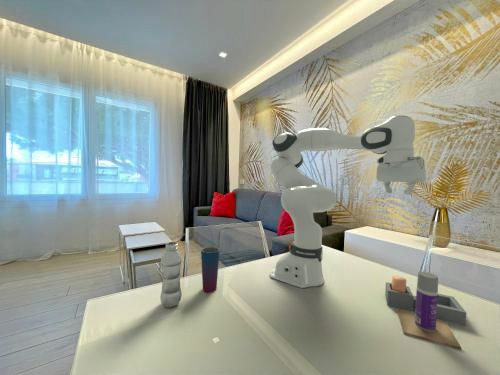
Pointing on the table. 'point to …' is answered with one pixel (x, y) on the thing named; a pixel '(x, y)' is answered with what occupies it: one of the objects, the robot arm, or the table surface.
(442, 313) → the housing
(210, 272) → the cup
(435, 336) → the pad
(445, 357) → the table surface
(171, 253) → the plastic bottle
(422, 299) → the container
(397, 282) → the peach cylinder
